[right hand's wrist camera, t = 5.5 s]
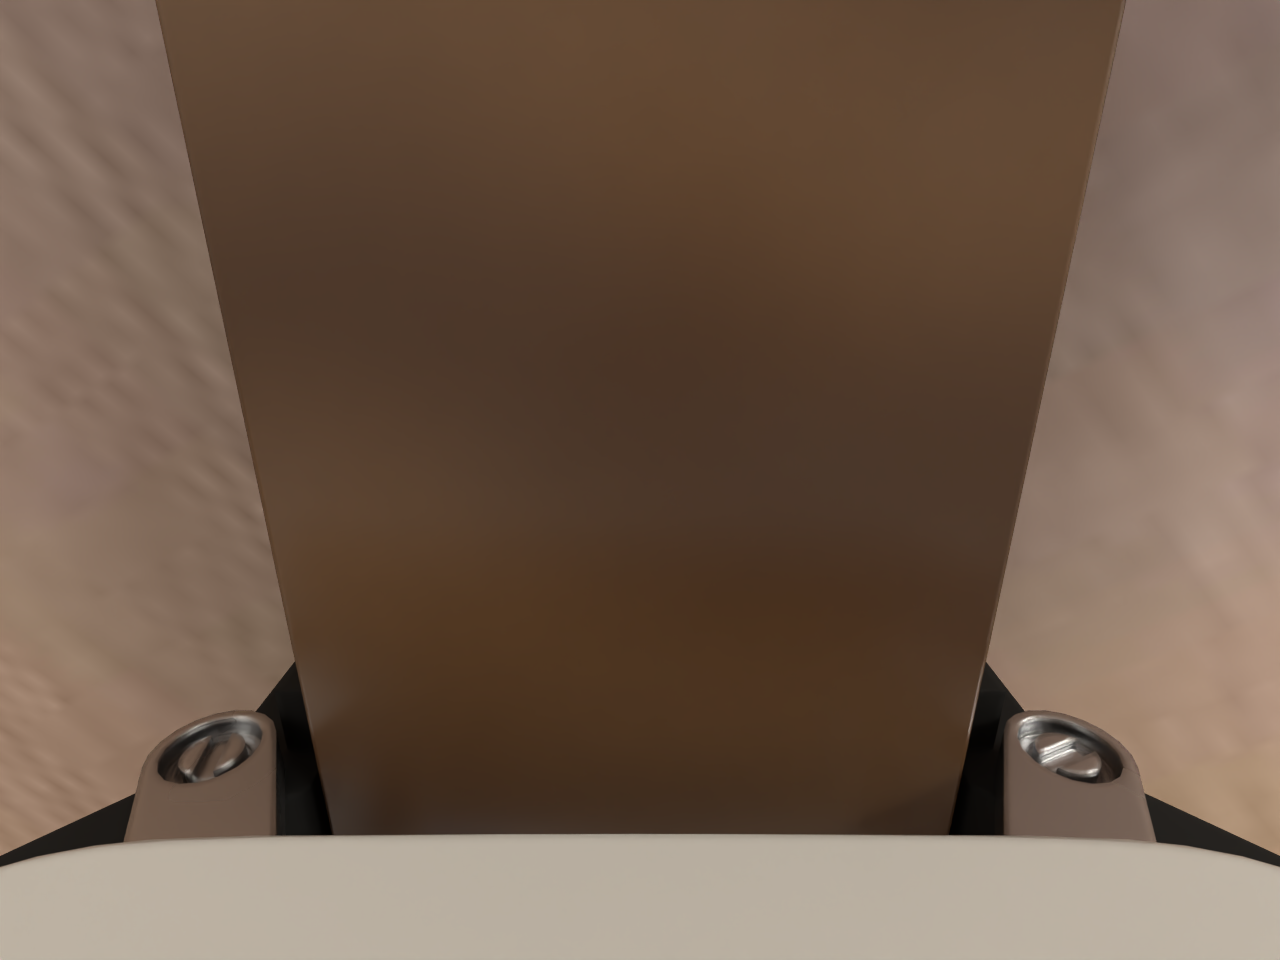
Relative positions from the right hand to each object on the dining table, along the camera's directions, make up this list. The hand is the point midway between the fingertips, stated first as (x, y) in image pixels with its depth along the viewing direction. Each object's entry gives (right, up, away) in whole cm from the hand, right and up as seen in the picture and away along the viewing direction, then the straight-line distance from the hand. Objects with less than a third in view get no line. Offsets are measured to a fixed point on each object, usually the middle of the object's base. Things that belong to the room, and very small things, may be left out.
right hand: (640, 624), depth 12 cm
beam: (0, +26, -9) cm, 28 cm away
